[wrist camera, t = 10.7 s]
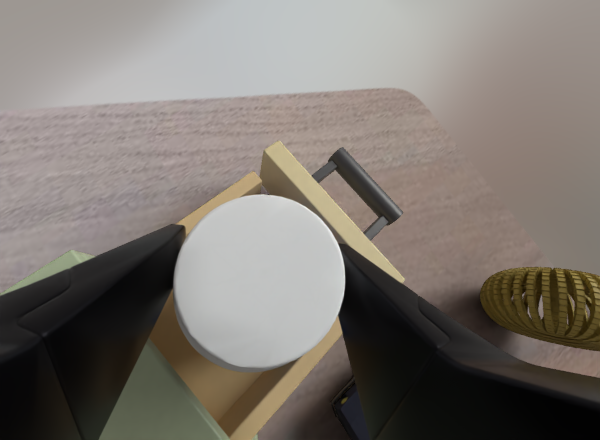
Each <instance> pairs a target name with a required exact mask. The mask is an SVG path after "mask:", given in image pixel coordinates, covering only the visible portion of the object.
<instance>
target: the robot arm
mask: <svg viewBox="0 0 600 440" xmlns="http://www.w3.org/2000/svg"><path fill="white" fill-rule="evenodd" d="M185 239H186V227H185V226H184V225H178V224H171V225H168V226H166V227H164V228H161V229H159V230H157V231H154V232H152V233H150V234H147V235H145V236H143V237H140V238H138V239H136V240H133V241H131V242H129V243H126V244H124V245H122V246H119V247H117V248H115V249H112V250H110V251H108V252H105V253H103V254H100V255H98V256H96V257H93V258H91V259H89V260H86V261H84V262H82V263H79V264H77V265H75V266H72V267H71V268H70V269H65V270H63V271H61V272H58V273H56V274H53V275H51V276H49V277H46V278H44V279H41V280H39V281H36V282H34V283H32V284H29V285H27V286H24V287H21V288H19V289H16V290H13V291H11V292H8V293H5V294H3V295H0V440H99V438H100V436H101V434H102V432H103V430H104V428H105V426H106V424H107V422H108V420H109V417H110V415H111V413H112V411H113V409H114V407H115V405H116V403H117V401H118V399H119V397H120V395H121V393H122V391H123V389H124V387H125V385H126V383H127V381H128V379H129V377H130V375H131V373H132V371H133V369H134V367H135V365H136V362H137V360H138V358H139V356H140V354H141V352H142V350H143V348H144V346H145V344H146V342H147V340H148V338H149V336H150V334H151V332H152V330H153V328H154V326H155V324H156V322H157V320H158V318H159V316H160V314H161V312H162V309H163V307H164V305H165V303H166V301H167V299H168V297H169V295H170V293H171V291H172V288H173V279H174V270H175V265H176V261H177V258H178V254H179V252H180V249H181V247H182V245H183V243H184V241H185ZM338 245H339V248H340V251H341V254H342V257H343V261H344V267H345V289H344V297H343V300H342V304H341V307H340V311H339V313H338V318H339V321H340V325H341V329H342V333H343V337H344V341H345V345H346V349H347V352H348V356H349V360H350V364H351V368H352V372H353V376H354V379H355V383H356V387H357V391H358V395H359V399H360V403H361V407H362V410H363V414H364V418H365V422H366V426H367V430H368V434H369V438H370V440H600V378H597V377H592V376H586V375H581V374H576V373H571V372H566V371H561V370H556V369H550V368H545V367H541V366H536V365H533V364H530V363H527V362H524V361H522V360H519V359H517V358H515V357H513V356H511V355H509V354H508V353H506V352H504V351H503V350H501V349H499V348H498V347H496V346H495V345H493V344H492V343H490V342H488V341H487V340H485V339H484V338H482V337H481V336H479V335H477V334H476V333H474V332H473V331H471V330H470V329H468V328H466V327H465V326H463V325H462V324H460V323H459V322H457V321H455V320H454V319H452V318H451V317H449V316H448V315H446V314H445V313H443V312H442V311H440V310H439V309H437V308H436V307H435V306H433V305H432V304H430V303H429V302H427V301H426V300H425V299H423V298H422V297H420V296H418V295H417V294H416V293H415V292H413V291H412V290H410V289H409V288H408V287H406V286H405V285H403V284H402V283H401V282H399V281H398V280H396V279H395V278H394V277H392V276H391V275H389V274H388V273H387V272H385V271H384V270H382V269H381V268H379V267H378V266H377V265H375V264H374V263H372V262H371V261H370V260H368V259H367V258H365V257H364V256H363V255H361V254H360V253H358V252H357V251H356V250H354V249H353V248H351V247H350V246H349V245H347V244H342V243H338Z"/></svg>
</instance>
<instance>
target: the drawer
mask: <svg viewBox="0 0 600 440" xmlns="http://www.w3.org/2000/svg"><path fill="white" fill-rule="evenodd" d="M334 170H336V171H337V172H338V173H339V174H340V176H341V177H342V178H343V179H344V180H345V181H346V182H347V183H348V184H349V185H350V186H351V188H352V189H353V190H354V191H355V192H356V193H357V194H358V195H359V196H360V197H361V198H362V200H363V201H364V202H365V203H366V204H367V205H368V206H369V207H370V208H371V209H372V210H373V212H374V213H375V214H376V215H377V216H378V217H379V218H378V219H377V220H376V221H374V222H373V223H372V224H371V225H370V226H369V227H368V228H367V229H366V230H365V231H364V232H362V231H361V230H360V229H359V228H358V227H357V226H356V225H355V224H354V223H353V221H352V220H351V219H350V218H349V217H348V216H347V215H346V214H345V213H344V212H343V210H342V209H341V208H340V207H339V206H338V205H337V204H336V203H335V202H334V200H333V199H332V198H331V197H330V196H329V195H328V194H327V193H326V192H325V191H324V189H323V188H322V187H321V186H320V185H319V184H318V183H319V182H321V181H322V180H323V179H324V178H326V177H327V176H328V175H329V174H331V173H332V172H333V171H334ZM261 185H262V186H263V187H264V188H265V189H266V190H267V191H268V192H269V193H270V195H274V196H280V197H283V198H287V199H290V200H293V201H295V202H297V203H299V204H301V205H303V206H305V207H306V208H308V209H309V210H310V211H312V212H313V213H315V214H316V215H317V216H318V217H319V218H321V220H322V221H323V222H324V223H325V224H326V225H327V227H328V228H329V229H330V231H331V232H332V234H333V236H334V237H335V239H336V241H337V243H342V244H347V245H349V246H350V247H351V248H353V249H354V250H356V251H357V252H358V253H360V254H361V255H363V256H364V257H365V258H367V259H368V260H370V261H371V262H372V263H374V264H375V265H377V266H378V267H379V268H381V269H382V270H384V271H385V272H387V273H388V274H389V275H391V276H392V277H394V278H395V279H396V280H398V281H399V282H401V283H403V282H404V280H405V279H404V278H403V277H402V276H401V274H400V273H399V272H398V271H397V270H396V269H395V268H394V267H393V266H392V265H391V263H390V262H389V261H388V260H387V259H386V258H385V257H384V256H383V255H382V253H381V252H380V251H379V250H378V249H377V248H376V247H375V246H374V245H373V244H372V242H371V240H372V239H373V238H374V237H375V236H376V235H377V234H378V233H379V231H380V230H381V229H382V228H383V227H384V226H385V225H390V224H392V223H393V222H394V221H396V220H397V219H398V218H399V217H400V216H401V215H402V214H403V211H402V210H401V209H400V208H399V207H398V206H397V205H396V204H395V203H394V202H393V201H392V200H391V198H390V197H389V196H388V195H387V194H386V193H385V192H384V191H383V190H382V189H381V188H380V187H379V186H378V184H377V183H376V182H375V181H374V180H373V179H372V178H371V177H370V176H369V175H368V174H367V173H366V172H365V170H364V169H363V168H362V167H361V166H360V165H359V164H358V163H357V162H356V161H355V160H354V159H353V157H352V156H351V155H350V154H349V153H348V152H347V151H346V150H345V149H344V148H343V147H342V148H340V149H338V150H337V151H336V152H335V153H334V154H333V155H332V156H331V157H330V158H329V160H328V163H327V164H326V165H325V166H323V167H322V168H321V169H319V170H318V171H317V172H315V173H314V174H313V175H312V176H311V175H310V174H309V173H308V172H307V171H306V170H305V168H304V167H303V166H302V165H301V164H300V163H299V162H298V161H297V160H296V159H295V157H294V156H293V155H292V154H291V153H290V152H289V151H288V150H287V149H286V148H285V146H284V145H283V144H282V143H281V142H280V141H277V142H275V143H274V144H272V145H271V146H269V147H268V148H266V149H265V150H264V152H263V158H262V165H261V171H260V178H259V177H258V176H257V174H256V173H255V172H254V171H252V172H251V173H249V174H248V175H246V176H245V177H244V178H242V179H241V180H239V181H238V182H236V183H235V184H233V185H232V186H230V187H229V188H227V189H226V190H225V191H223V192H222V193H220V194H219V195H217V196H216V197H214V198H213V199H211V200H210V201H208V202H207V203H206V204H204V205H203V206H201V207H200V208H198V209H197V210H195V211H194V212H192V213H191V214H189V215H188V216H186V217H185V218H184V219H182V220H181V221H179V222H178V223H176V224H178V225H184V226H185V227H186V238H187V236H188V234H189V233H190V232H191V230H192V229H193V228H194V227H195V225H196V224H197V223H198V222H199V221H200V220H201V219H202V218H203V217H204V216H205V215H206V214H208V213H209V212H210V211H212V210H213V209H215V208H216V207H218V206H220V205H221V204H224V203H226V202H228V201H231V200H234V199H237V198H240V197H244V196H250V195H260V191H261ZM342 334H343V333H342V329H341V325H340V321H339V318H338V315H337V317H336V320H335V322H334V323H333V325H332V327H331V328H330V330H329V332H328V333H327V334H326V335H325V337H324V338H323V339H322V340H321V341H320V342H319V343H318V344H317V345H316V346H315V347H314V348H313V349H311V350H310V351H309V352H307V353H306V354H304V355H303V356H301V357H299V358H298V359H296V360H294V361H292V362H289V363H288V364H286V365H284V366H281V367H278V368H275V369H272V370H268V371H263V372H238V371H232V370H229V369H225V368H223V367H220V366H218V365H216V364H214V363H213V362H211V361H209V360H208V359H206V358H205V357H203V356H202V355H201V354H200V353H198V352H197V351H196V350H195V349H194V348H193V346H192V345H191V344H190V343H189V341H188V340H187V338H186V337H185V335H184V333H183V332H182V330H181V328H180V326H179V323H178V320H177V317H176V313H175V308H174V301H173V288H172V291H171V293H170V295H169V297H168V299H167V301H166V303H165V305H164V307H163V309H162V312H161V314H160V316H159V318H158V320H157V322H156V324H155V326H154V328H153V330H152V332H151V334H150V336H149V338H150V340H151V341H152V342H153V343H154V345H155V346H156V347H157V348H158V350H159V351H160V352H161V353H162V355H163V356H164V357H165V358H166V360H167V361H168V362H169V363H170V365H171V366H172V367H173V368H174V370H175V371H176V372H177V373H178V375H179V376H180V377H181V378H182V380H183V381H184V382H185V383H186V385H187V386H188V387H189V388H190V390H191V391H192V392H193V393H194V395H195V396H196V397H197V398H198V400H199V401H200V402H201V403H202V405H203V406H204V407H205V408H206V410H207V411H208V412H209V413H210V415H211V416H212V417H213V419H214V420H215V421H216V422H217V424H218V425H219V426H220V427H221V429H222V430H223V431H224V432H225V434H226V435H227V436H228V437H229V439H230V440H252V439H253V438H254V436H255V435H256V434H257V433H258V432H259V431H260V429H261V428H262V427H263V426H264V425H265V424H266V422H267V421H268V420H269V419H270V418H271V417H272V415H273V414H274V413H275V412H276V411H277V410H278V408H279V407H280V406H281V405H282V404H283V403H284V401H285V400H286V399H287V398H288V397H289V396H290V394H291V393H292V392H293V391H294V390H295V389H296V387H297V386H298V385H299V384H300V383H301V382H302V380H303V379H304V378H305V377H306V376H307V375H308V373H309V372H310V371H311V370H312V369H313V368H314V367H315V365H316V364H317V363H318V362H319V361H320V360H321V358H322V357H323V356H324V355H325V354H326V353H327V351H328V350H329V349H330V348H331V347H332V346H333V344H334V343H335V342H336V341H337V340H338V339H339V337H340V336H341V335H342Z"/></svg>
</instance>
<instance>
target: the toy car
mask: <svg viewBox="0 0 600 440" xmlns="http://www.w3.org/2000/svg"><path fill="white" fill-rule="evenodd" d="M354 381H355V379H354V378H353V379H352V380H351V381H349V383H348V384H347V385H346V386H345V387H344V388H343V389H342V390H341V391H340V392H339V393H338V394H337V395H336V396H335V397H334V399H333V400H332V401H331V405H332V408H333V403H334V402H335V401H336V400H337V399H338V398H339V396H340V395H341V394H342V393H343V392H344V391H345V390H346V389H347V388H348V387H349V386H350V385H351V384H352V383H353V382H354ZM334 404H335V406H334V407H335V409H336V410H335V411H334V408H333V411H334V413H335V412H336V414H335V416H336V415H337V416H336V417H338V419H339V421H340V422H341V424H342V426H343V427H344V429H345V430H346V432H347V434H348V435H349V437H350V438H351V440H370V438H369V434H368V430H367V426H366V422H365V418H364V414H363V410H362V407H361V403H360V399H359V395H358V391H357V387H356V383H355V384H354V385H353V386H352V387H351V388H350V389H349V390H348V391H347V392H346V393H345V394H344V395H343V396H342V397H341V398H339V399H338V400H337V401H336V402H335V403H334Z"/></svg>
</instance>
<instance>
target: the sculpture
mask: <svg viewBox="0 0 600 440" xmlns="http://www.w3.org/2000/svg"><path fill="white" fill-rule="evenodd" d="M524 292H525V295H524V296H523V297H524V298H522V295H523V293H524ZM514 294H515V295H514ZM541 294H542V301H543V307H544V308H543V312H544V317H543V318H542V319H541V318H540V316H539V312H538V307H539V305H538V303H539V300H540V297H541ZM512 295H513V301H514V302H513V301H511V298H512ZM569 295H570V296H572V298H573V300H574V301H575V307H574V309H573V304H572V301H571V298H570V297H569ZM480 298H481V299H480V300H481V304H482V306H483V309H484V310H485V312H486V313H487V315H488V316H489V317H490V318H491V319H492V320H494V321H495V322H496V323H497V324H499V325H501V326H502V327H504V328H506V329H508V330H510V331H513V332H515V333H519V334H521V335H525V336H527V337H531V338H534V339H539V340H542V341H547V342H550V343H555V344H559V345H564V346H569V347H575V348H581V349H586V350H588V349H589V350H593V351H600V276H598V275H594V274H590V273H586V272H581V271H572V270H568V269H567V270H566V269H561V268H560V269H559V268H558V269H557V268H553V270H552V268H550V267H544V268H542V267H526V268H524V267H522V268H514V269H508V270H505V271H501V272H498V273H496V274H494V275H492V276H491V277H489V278H488V280H486V282H485V283H484V284H483V286H482V288H481V292H480ZM520 300H521V301H520ZM532 301H533V302H532ZM503 302H504V303H503ZM585 303H586V304H587V306H588V308H589V310H590V314H591V316H589V317H590V318H588V317H587V316H588V314H586V313H587V311H586V308H585ZM528 304H529V306H528ZM562 305H563V306H562ZM527 307H529V309H530V310H529V312H530V315H531V316H532V317H531V318H532V319H531V318H529V315H528V308H527ZM573 310H574V311H573ZM517 311H518V313H519V314H520V315H518V313H517ZM567 311H568V312H567ZM566 312H567V313H566ZM573 312H574V313H573ZM567 314H568V319H569V320H568V324H567V321H566V318H567ZM584 318H585V319H584ZM540 319H541V320H540ZM532 320H533V321H532ZM581 325H582V326H581ZM580 327H581V328H580Z"/></svg>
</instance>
